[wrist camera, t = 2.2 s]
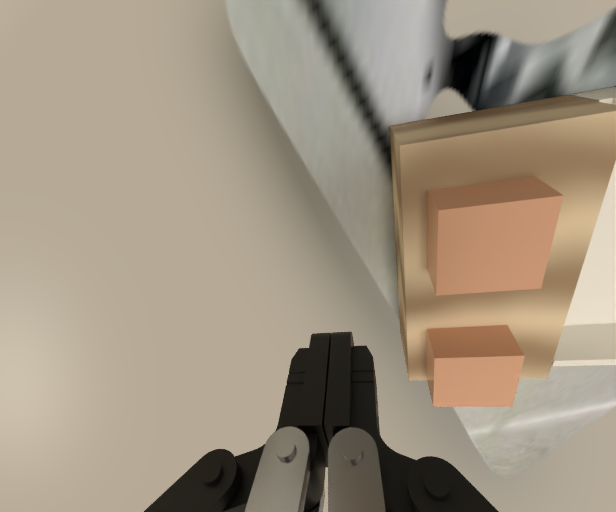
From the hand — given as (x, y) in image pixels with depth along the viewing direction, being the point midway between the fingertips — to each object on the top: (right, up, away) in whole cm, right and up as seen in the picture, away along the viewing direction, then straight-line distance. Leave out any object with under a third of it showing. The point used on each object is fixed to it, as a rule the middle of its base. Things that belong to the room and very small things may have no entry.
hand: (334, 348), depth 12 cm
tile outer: (+10, -3, +10) cm, 15 cm away
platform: (+10, +5, +11) cm, 16 cm away
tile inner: (+8, +5, +5) cm, 11 cm away
